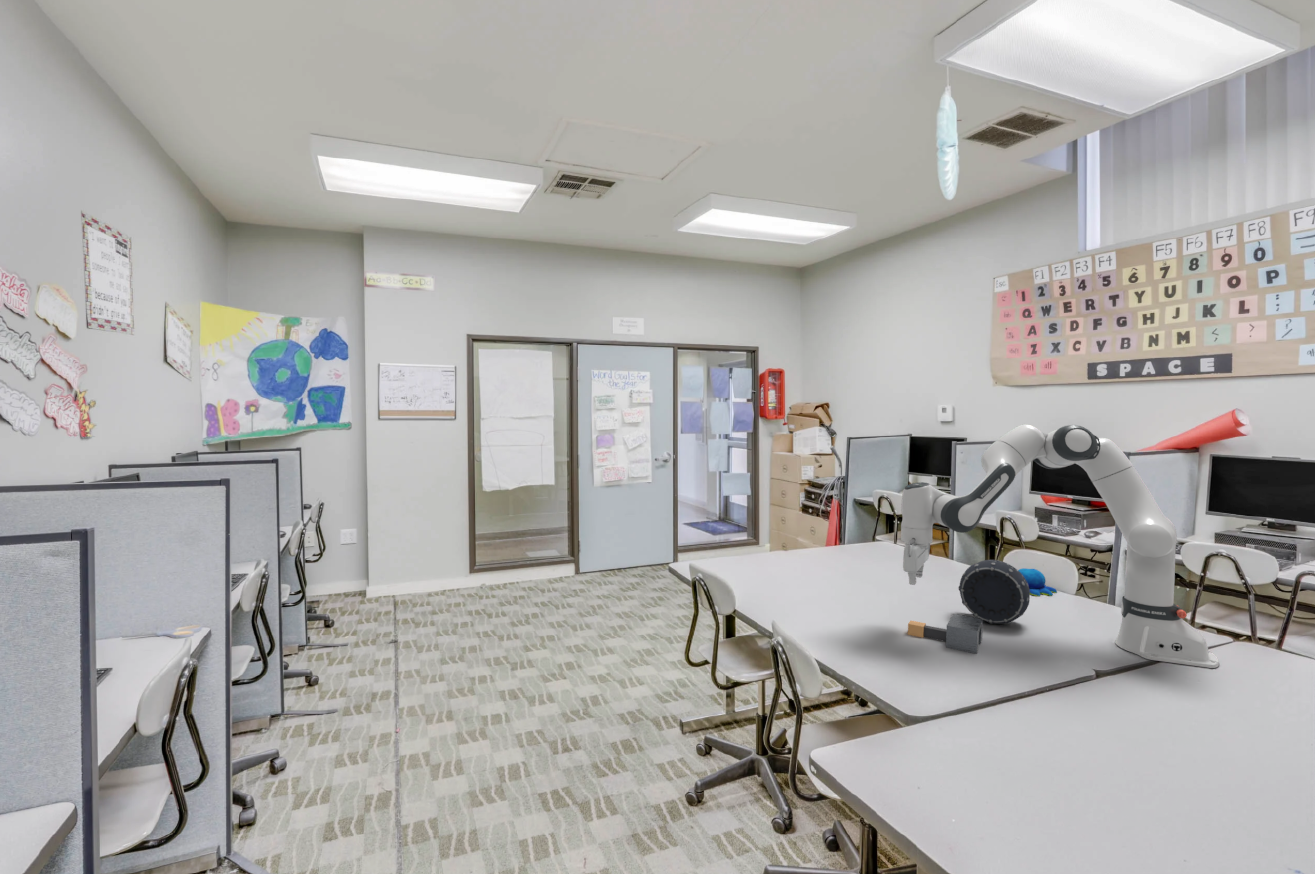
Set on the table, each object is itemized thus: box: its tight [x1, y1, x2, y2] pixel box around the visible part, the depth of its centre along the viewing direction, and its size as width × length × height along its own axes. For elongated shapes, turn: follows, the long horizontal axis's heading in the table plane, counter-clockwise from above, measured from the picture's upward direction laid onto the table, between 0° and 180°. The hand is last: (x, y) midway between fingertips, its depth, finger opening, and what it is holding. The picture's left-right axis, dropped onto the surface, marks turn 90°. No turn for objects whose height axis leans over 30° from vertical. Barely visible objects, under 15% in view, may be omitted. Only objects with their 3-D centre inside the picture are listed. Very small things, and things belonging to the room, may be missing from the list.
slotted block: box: [945, 613, 984, 654], centre depth 178 cm, size 8×12×6 cm, turn 146°
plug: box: [907, 620, 947, 642], centre depth 182 cm, size 18×4×3 cm, turn 56°
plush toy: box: [1017, 568, 1058, 597], centre depth 231 cm, size 17×17×8 cm
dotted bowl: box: [958, 559, 1031, 625], centre depth 196 cm, size 11×20×20 cm, turn 53°
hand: (915, 580), depth 185 cm, fingers open, 8 cm apart
